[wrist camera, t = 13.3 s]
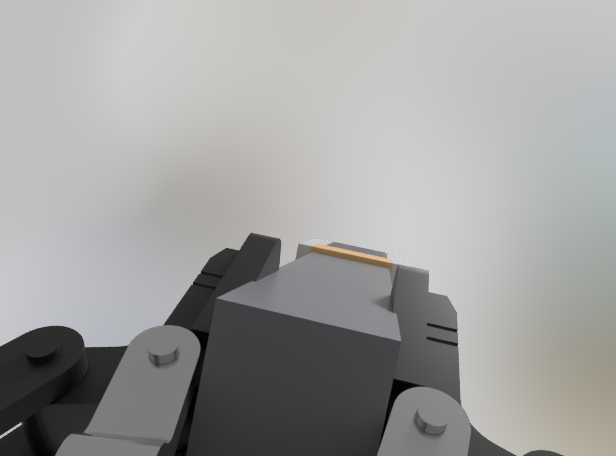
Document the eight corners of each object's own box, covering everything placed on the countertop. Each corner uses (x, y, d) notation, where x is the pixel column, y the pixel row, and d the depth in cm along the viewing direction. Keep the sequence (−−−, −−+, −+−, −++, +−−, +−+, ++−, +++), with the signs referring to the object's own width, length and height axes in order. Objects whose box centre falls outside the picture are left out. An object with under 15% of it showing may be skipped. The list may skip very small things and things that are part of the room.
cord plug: (305, 290, 28) (316, 234, 28) (393, 309, 27) (405, 253, 27) (126, 459, 8) (161, 273, 8) (426, 547, 8) (470, 344, 7)
